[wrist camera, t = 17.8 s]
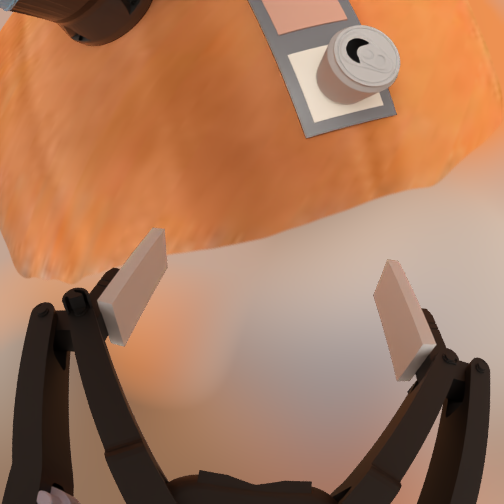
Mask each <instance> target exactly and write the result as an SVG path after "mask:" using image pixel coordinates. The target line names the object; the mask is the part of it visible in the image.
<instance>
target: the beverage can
mask: <svg viewBox="0 0 504 504" xmlns="http://www.w3.org/2000/svg"><path fill="white" fill-rule="evenodd" d="M399 68H400V57H399V53H398V50H397V48H396V46H395V45H394V43H393V42H392V41H391V39H390V38H389V37H388V36H387V35H385V34H384V33H383V32H381V31H379V30H378V29H375V28H373V27H369V26H364V25H356V26H351V27H347V28H344V29H342V30H340V31H339V32H337V33H336V34H335V35H334V36H333V37H332V39H331V40H330V42H329V44H328V46H327V49H326V51H325V53H324V55H323V57H322V60H321V62H320V64H319V66H318V68H317V72H316V80H317V84H318V87H319V89H320V90H321V92H322V93H323V94H324V95H325V96H326V97H327V98H328V99H330V100H331V101H333V102H336V103H339V104H345V105H348V104H354V103H357V102H359V101H361V100H363V99H365V98H368V97H370V96H372V95H374V94H376V93H379V92H381V91H383V90H385V89H387V88H388V87H390V86H391V85H392V84H393V83H394V81H395V80H396V78H397V75H398V72H399Z"/></svg>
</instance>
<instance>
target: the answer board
mask: <svg viewBox="0 0 504 504" xmlns="http://www.w3.org/2000/svg"><path fill="white" fill-rule="evenodd" d="M248 2H249V4H250V6H251V8H252V10H253V12H254V14H255V16H256V18H257V20H258V22H259V25H260V27H261V29H262V31H263V33H264V35H265V38H266V40H267V42H268V44H269V46H270V49H271V51H272V53H273V56H274V58H275V60H276V63H277V65H278V67H279V70H280V72H281V75H282V77H283V79H284V82H285V84H286V87H287V89H288V92H289V94H290V97H291V100H292V102H293V105H294V107H295V110H296V113H297V115H298V118H299V121H300V124H301V126H302V129H303V132H304V135H305V137H306V138H309V137H312V136H316V135H319V134H322V133H326V132H329V131H333V130H337V129H340V128H344V127H348V126H352V125H355V124H359V123H363V122H367V121H371V120H376V119H380V118H384V117H389V116H393V115H397V113H396V110H395V107H394V104H393V101H392V98H391V95H390V93H389V90H388V88H387V89H385V90H383V91H381V92H379V93H376V94H374V95H372V96H370V97H368V98H365V99H363V100H361V101H359V102H357V103H354V104H348V105H345V104H339V103H336V102H333V101H331V100H330V99H328V98H327V97H326V96H325V95H324V94H323V93H322V92H321V90H320V89H319V87H318V84H317V80H316V72H317V68H318V66H319V64H320V62H321V60H322V57H323V55H324V53H325V51H326V49H327V46H328V44H329V42H330V40H331V39H332V37H333V36H334V35H335V34H336V33H337V32H339V31H340V30H342V29H344V28H347V27H351V26H356V25H361V24H360V22H359V20H358V18H357V16H356V14H355V12H354V10H353V8H352V6H351V4H350V3H349V1H348V0H248Z"/></svg>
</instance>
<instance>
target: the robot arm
mask: <svg viewBox="0 0 504 504" xmlns="http://www.w3.org/2000/svg"><path fill="white" fill-rule="evenodd" d="M151 1H152V0H0V8H2V9H3V10H4V11H12V12H17V13H21V14H26V15H30V16H34V17H38V18H42V19H45V20H49V21H52V22H55V23H58V25H59V26H60V27H61V28H62V29H63V30H64V31H65V32H66V33H67V34H68V35H69V36H70V37H71V38H72V39H73V40H75V41H77V42H79V43H82V44H85V45H90V46H98V45H103V44H106V43H109V42H111V41H113V40H115V39H117V38H119V37H121V36H122V35H124V34H125V33H126V32H128V31H129V30H130V29H131V28H132V27H133V26H134V25H135V24H136V23H137V22H138V21H139V20H140V19H141V18H142V17H143V15H144V14H145V12H146V11H147V9H148V8H149V6H150V4H151ZM166 269H167V256H166V241H165V229H161V228H152V229H151V230H150V232H149V233H148V234H147V235H146V237H145V238H144V239H143V240H142V242H141V243H140V244H139V245H138V247H137V248H136V249H135V250H134V252H133V253H132V254H131V255H130V257H129V258H128V259H127V261H126V262H125V263H124V265H123V266H122V267H121V269H118V268H112V269H111V270H109V271H107V272H106V273H105V274H104V275H103V277H102V278H101V280H100V281H99V282H98V283H97V285H96V286H95V287H94V289H93V290H92V291H91V293H90V294H89V293H88V291H87V290H85V289H84V288H73V289H71V290H69V291H68V292H67V293H65V294H64V296H63V298H62V302H63V304H64V307H65V311H55V309H54V306H53V305H52V304H51V303H46V302H44V303H41V304H39V305H37V306H36V307H35V308H34V309H33V310H32V312H31V316H30V320H29V324H28V328H27V332H26V337H25V341H24V346H23V351H22V357H21V362H20V368H19V374H18V381H17V388H16V397H15V407H14V419H13V439H12V440H13V441H12V466H11V470H10V473H9V477H8V481H7V484H6V488H5V493H4V497H3V501H2V504H80V503H79V501H78V500H77V499H76V498H74V497H73V488H74V484H73V471H72V463H71V451H70V437H69V409H68V408H69V407H68V406H69V404H68V403H69V400H68V397H69V396H68V394H69V365H70V351H75V355H76V360H77V364H78V368H79V372H80V376H81V380H82V383H83V387H84V390H85V394H86V397H87V400H88V404H89V407H90V410H91V413H92V416H93V419H94V422H95V425H96V427H97V430H98V433H99V435H100V438H101V441H102V443H103V446H104V449H105V458H106V461H107V464H108V466H109V469H110V471H111V473H112V475H113V477H114V480H115V482H116V484H117V486H118V488H119V490H120V492H121V494H122V496H123V498H124V500H125V502H126V504H390V503H391V502H392V501H393V499H394V498H395V496H396V495H397V494H398V492H399V490H400V488H401V483H400V482H401V480H402V478H403V476H404V475H405V473H406V472H407V470H408V469H409V467H410V465H411V464H412V462H413V460H414V459H415V457H416V455H417V454H418V452H419V450H420V448H421V446H422V445H423V443H424V441H425V439H426V437H427V435H428V434H429V432H430V430H431V428H432V426H433V424H434V422H435V420H436V418H437V416H438V414H439V411H440V409H441V407H442V405H443V407H442V413H441V418H440V424H439V428H438V433H437V438H436V442H435V446H434V450H433V454H432V458H431V461H430V465H429V469H428V472H427V475H426V478H425V482H424V485H423V488H422V491H421V494H420V497H419V499H418V502H417V504H476V502H477V498H478V494H479V489H480V484H481V479H482V474H483V468H484V462H485V455H486V447H487V438H488V428H489V412H490V369H489V366H488V364H487V363H486V362H485V361H484V360H483V359H481V358H474V359H473V360H472V361H471V362H470V363H466V362H462V361H459V359H458V356H457V355H456V353H455V352H453V351H452V350H450V349H448V348H446V346H445V343H444V341H443V339H442V337H441V334H440V332H439V330H438V327H437V325H436V324H435V321H434V318H433V316H432V315H431V313H430V312H429V311H428V310H427V309H422V308H421V307H420V305H419V302H418V300H417V298H416V296H415V294H414V292H413V289H412V288H411V285H410V283H409V281H408V279H407V277H406V275H405V273H404V271H403V269H402V267H401V265H400V263H399V261H395V260H387V262H386V264H385V267H384V270H383V272H382V275H381V277H380V280H379V282H378V285H377V288H376V290H375V292H374V295H373V296H374V299H375V303H376V306H377V309H378V312H379V316H380V319H381V322H382V326H383V329H384V333H385V336H386V340H387V344H388V347H389V351H390V355H391V359H392V363H393V366H394V371H395V375H396V379H397V381H410V380H411V378H412V377H413V376H414V375H415V374H416V377H417V381H416V382H415V383H414V384H413V386H412V387H411V388H410V389H409V391H408V395H407V397H406V398H405V400H404V401H403V403H402V405H401V406H400V408H399V409H398V411H397V412H396V414H395V415H394V417H393V418H392V420H391V421H390V423H389V424H388V426H387V427H386V429H385V430H384V432H383V433H382V434H381V436H380V437H379V439H378V440H377V441H376V443H375V444H374V445H373V447H372V448H371V449H370V451H369V452H368V453H367V455H366V456H365V457H364V458H363V460H362V461H361V462H360V463H359V465H358V466H357V467H356V468H355V469H354V471H353V472H352V473H351V474H350V475H349V477H348V478H347V479H346V480H345V481H344V482H343V483H342V484H341V485H340V486H339V487H338V488H337V489H336V490H334V492H332V493H331V495H329V494H328V493H326V492H324V491H322V490H320V489H318V488H315V487H311V484H312V482H306V481H305V482H304V481H302V482H300V481H281V482H275V483H267V484H260V485H254V484H250V483H248V482H245V481H242V480H239V479H237V478H234V477H231V476H229V475H224V474H218V473H212V472H207V471H202V470H200V471H199V475H188V476H183V477H179V478H177V479H174V480H172V481H170V482H168V480H167V478H166V477H165V475H164V473H163V472H162V470H161V468H160V466H159V465H158V463H157V462H156V460H155V458H154V456H153V454H152V452H151V450H150V448H149V446H148V444H147V442H146V440H145V439H144V436H143V434H142V432H141V430H140V428H139V426H138V424H137V422H136V420H135V417H134V415H133V413H132V411H131V408H130V406H129V404H128V401H127V399H126V397H125V394H124V392H123V389H122V387H121V384H120V382H119V379H118V377H117V374H116V371H115V369H114V366H113V363H112V360H111V358H110V355H109V352H108V349H107V346H106V343H105V340H106V338H107V336H109V338H110V341H111V343H114V344H117V345H121V346H125V345H126V343H127V341H128V339H129V337H130V335H131V333H132V331H133V329H134V327H135V326H136V324H137V322H138V320H139V318H140V316H141V314H142V313H143V311H144V308H145V307H146V305H147V303H148V301H149V300H150V298H151V296H152V294H153V292H154V291H155V289H156V287H157V285H158V283H159V282H160V280H161V278H162V276H163V275H164V273H165V271H166Z"/></svg>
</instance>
